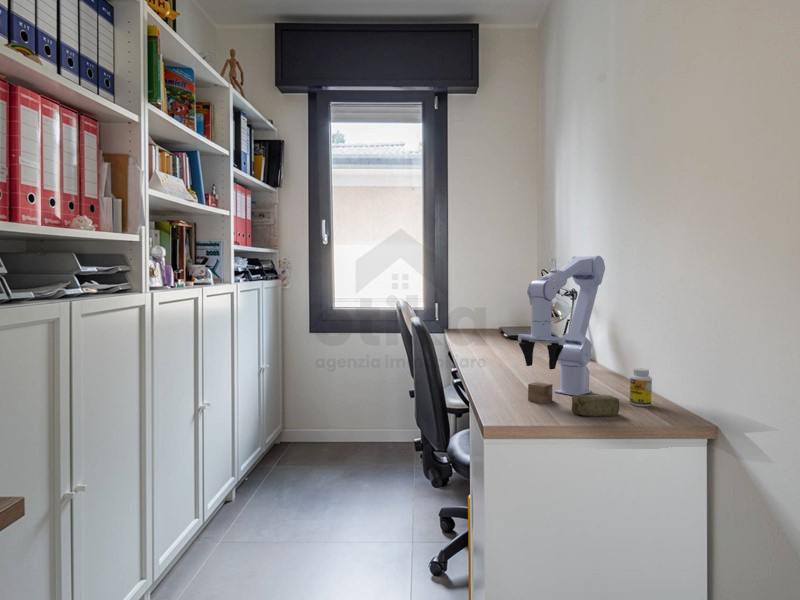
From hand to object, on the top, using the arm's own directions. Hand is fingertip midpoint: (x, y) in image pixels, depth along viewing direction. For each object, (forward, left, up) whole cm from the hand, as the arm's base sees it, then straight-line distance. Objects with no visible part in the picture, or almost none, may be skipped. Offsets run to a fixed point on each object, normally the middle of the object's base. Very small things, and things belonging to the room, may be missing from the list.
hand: (540, 367), depth 149 cm
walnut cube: (0, 0, -10) cm, 10 cm away
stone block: (+2, +18, -10) cm, 21 cm away
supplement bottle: (-17, +22, -10) cm, 30 cm away
